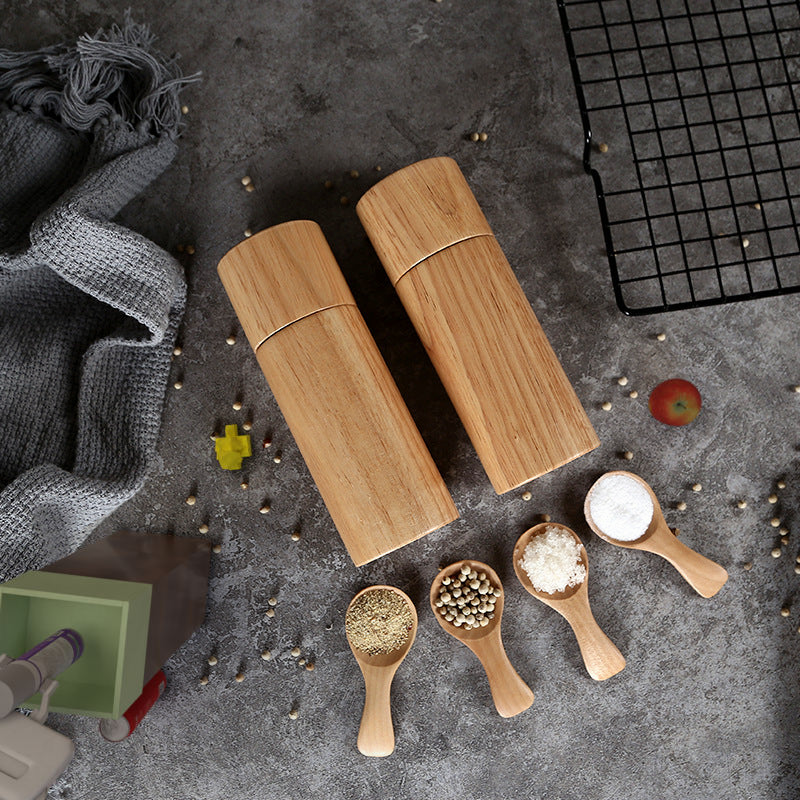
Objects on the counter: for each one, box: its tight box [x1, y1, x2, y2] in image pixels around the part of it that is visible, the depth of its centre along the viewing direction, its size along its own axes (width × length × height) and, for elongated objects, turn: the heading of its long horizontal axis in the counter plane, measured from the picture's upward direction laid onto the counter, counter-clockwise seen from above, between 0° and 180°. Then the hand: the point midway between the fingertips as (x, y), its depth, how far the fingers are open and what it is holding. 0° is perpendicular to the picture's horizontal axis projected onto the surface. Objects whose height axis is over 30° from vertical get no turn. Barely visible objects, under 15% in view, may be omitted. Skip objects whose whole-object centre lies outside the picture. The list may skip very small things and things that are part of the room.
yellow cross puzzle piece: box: [214, 424, 253, 471], centre depth 112 cm, size 6×8×8 cm
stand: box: [36, 529, 213, 687], centre depth 104 cm, size 17×15×27 cm
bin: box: [0, 569, 152, 720], centre depth 87 cm, size 18×16×7 cm
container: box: [0, 628, 85, 718], centre depth 78 cm, size 5×5×15 cm
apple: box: [647, 377, 703, 427], centre depth 109 cm, size 8×8×10 cm
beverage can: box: [98, 669, 168, 744], centre depth 110 cm, size 6×6×15 cm
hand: (32, 668), depth 77 cm, fingers closed on container, 4 cm apart
